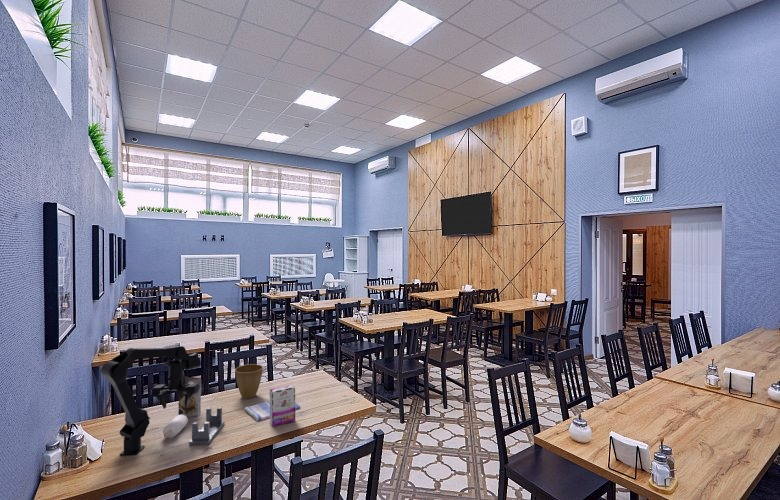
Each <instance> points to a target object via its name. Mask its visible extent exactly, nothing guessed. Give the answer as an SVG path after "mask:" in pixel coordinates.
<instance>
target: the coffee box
mask: <svg viewBox="0 0 780 500" xmlns="http://www.w3.org/2000/svg"><path fill="white" fill-rule="evenodd" d="M195 383H198V384H199V385H200V389H199V390H198V391H197V392H196V393H194V394H193V395H192V396H191V398H190V401H189V404H188V407H187V408H185V394H186V392H185V391H178V411H177V412H178V413H177V414H178V415H185V416H186V417H187V418H188V417H189V418H190V417H198V416H199V415H200V414H201V411H202V409H201V408H202V407H201V405H202V403H201V402H202V401H201V400H202V379H195V380H189V381H188V384H185V385H183V386H188V385H190V384H195ZM178 415H177V416H178Z"/></svg>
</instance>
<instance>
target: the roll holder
mask: <svg viewBox="0 0 780 500" xmlns="http://www.w3.org/2000/svg"><path fill="white" fill-rule="evenodd" d="M205 411H206V412H205V418H206V419H205V420H206V421H205V422H204V423H203V425H202V426H201V427H200V429H199V421H194V422H193V423H191V439H190V440H189V441H188V446H189V447H190V446H207V445H209V446H210V444H211V442H212V441H213V440H214V438H216V436H217V434H218V433H219V432H220V430H221V429H223V426H224V425H225V420H223V407H220V406H219V407H217V408H216V413H215V414H214V413H213V414H212V407H206V408H205Z"/></svg>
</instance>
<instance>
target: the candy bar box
mask: <svg viewBox="0 0 780 500" xmlns="http://www.w3.org/2000/svg"><path fill="white" fill-rule="evenodd" d="M269 401H270V418H269V423H270V425H271V427H276V426H280V425H281V426H282V425H284V424H287V423H288V424H289V423H292V422H293V423H294V422H296V410H295V403H296V388H295V385H293V384H288V385H283V386H279V387H273V388H270V389H269Z"/></svg>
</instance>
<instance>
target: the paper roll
mask: <svg viewBox="0 0 780 500" xmlns="http://www.w3.org/2000/svg"><path fill="white" fill-rule="evenodd" d="M188 421H189V419H188V417H186V416H185V415H176V416H175V417H174V418H173V419H172V420H171V421H170V422H169V423H168V424H166V425H165V426H164V427H163V429H162V434H163V437H164V438H165V439H166V438H167V439H172V438H174V437H176V436H177V435H178V434H179V433H180V432H181V431H182V430H183V429H184V428H185V427H186V426H187V424H188Z"/></svg>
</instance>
